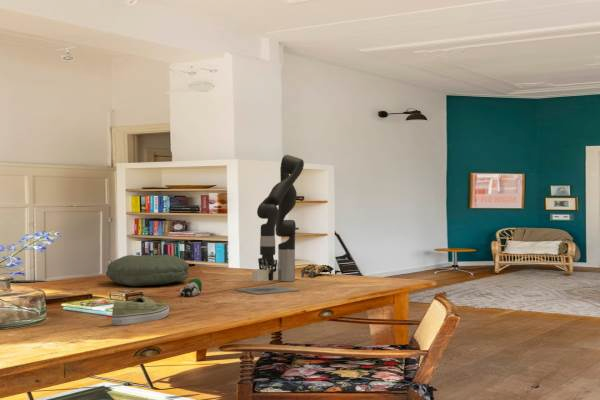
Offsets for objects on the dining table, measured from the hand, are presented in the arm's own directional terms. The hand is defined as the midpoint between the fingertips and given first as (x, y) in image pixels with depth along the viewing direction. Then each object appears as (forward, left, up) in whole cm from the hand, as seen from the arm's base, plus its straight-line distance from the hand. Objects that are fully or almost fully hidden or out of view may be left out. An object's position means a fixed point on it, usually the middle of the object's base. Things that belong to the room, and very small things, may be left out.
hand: (267, 279), depth 360 cm
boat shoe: (+44, -84, -6) cm, 95 cm away
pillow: (-60, -35, -6) cm, 70 cm away
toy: (-7, -38, -6) cm, 39 cm away
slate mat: (0, 0, -5) cm, 5 cm away
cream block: (0, -7, +3) cm, 8 cm away
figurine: (-43, +62, -6) cm, 75 cm away
